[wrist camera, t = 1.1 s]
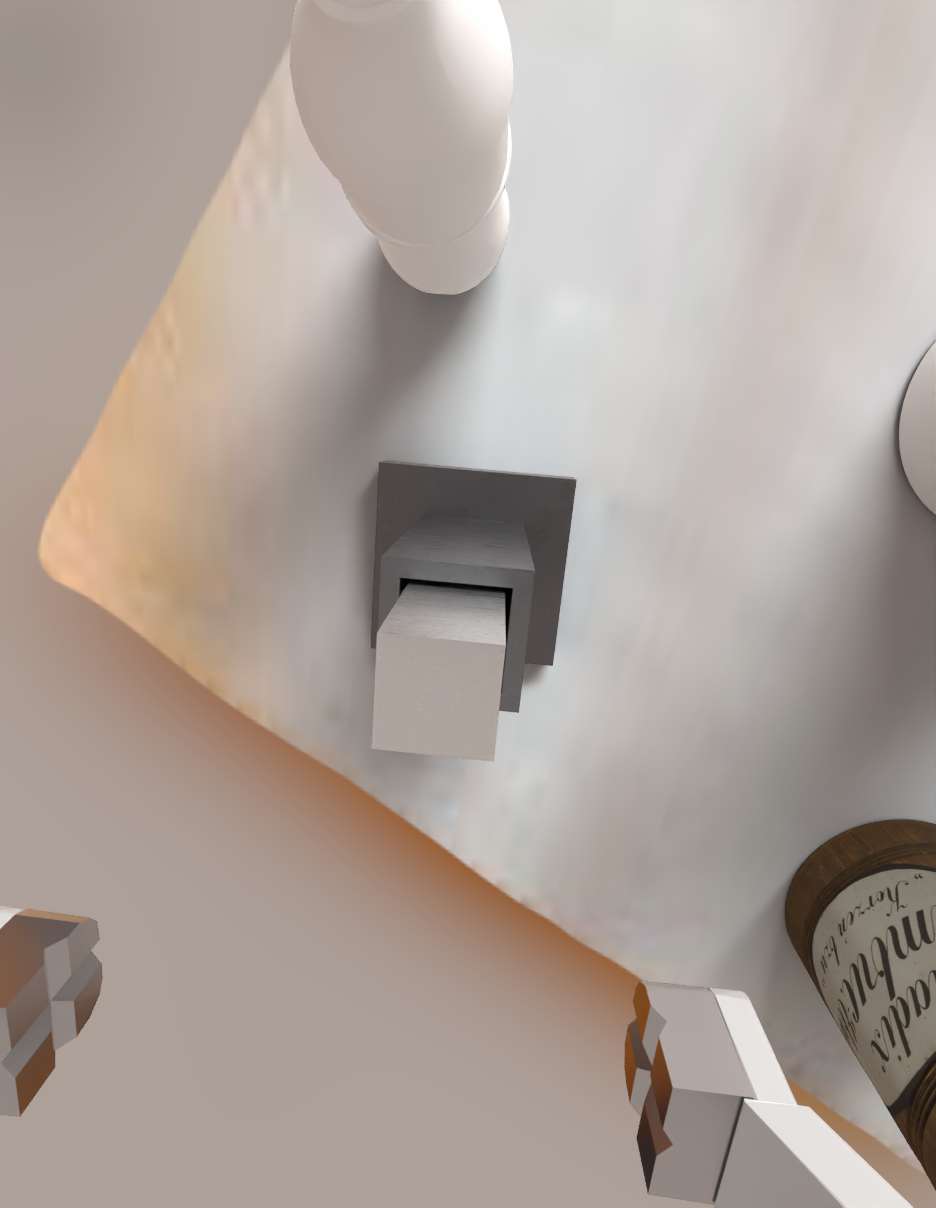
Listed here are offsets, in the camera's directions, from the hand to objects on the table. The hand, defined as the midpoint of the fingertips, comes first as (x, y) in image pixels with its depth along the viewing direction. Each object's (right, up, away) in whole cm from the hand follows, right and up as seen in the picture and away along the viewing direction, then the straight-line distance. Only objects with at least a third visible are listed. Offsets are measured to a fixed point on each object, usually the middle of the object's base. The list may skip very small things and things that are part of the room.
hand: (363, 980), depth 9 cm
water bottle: (0, +27, +27) cm, 38 cm away
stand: (+2, +8, +32) cm, 33 cm away
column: (+2, +8, +30) cm, 31 cm away
